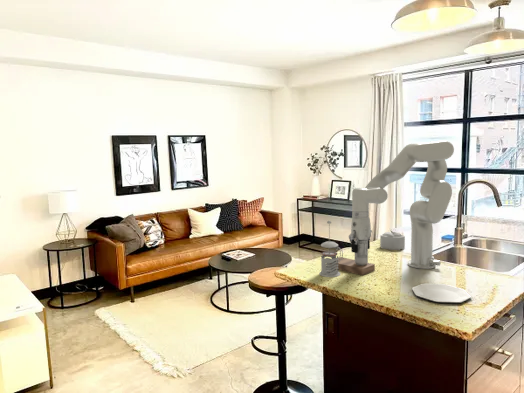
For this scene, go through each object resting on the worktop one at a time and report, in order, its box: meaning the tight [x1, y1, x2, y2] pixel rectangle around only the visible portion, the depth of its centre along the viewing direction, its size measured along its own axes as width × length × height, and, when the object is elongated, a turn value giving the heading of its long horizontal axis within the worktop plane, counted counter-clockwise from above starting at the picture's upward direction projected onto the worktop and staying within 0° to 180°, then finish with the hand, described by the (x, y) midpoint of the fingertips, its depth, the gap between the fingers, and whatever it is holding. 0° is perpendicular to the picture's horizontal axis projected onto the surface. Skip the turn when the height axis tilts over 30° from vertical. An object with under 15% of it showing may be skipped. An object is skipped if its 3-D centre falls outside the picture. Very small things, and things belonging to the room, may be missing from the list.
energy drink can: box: [354, 236, 369, 265], centre depth 182 cm, size 6×6×15 cm
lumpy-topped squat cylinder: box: [379, 231, 406, 251], centre depth 223 cm, size 10×13×9 cm
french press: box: [319, 220, 344, 278], centre depth 178 cm, size 10×12×25 cm
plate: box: [411, 282, 472, 304], centre depth 149 cm, size 20×20×2 cm
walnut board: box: [329, 256, 376, 276], centre depth 186 cm, size 20×10×3 cm, turn 42°
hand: (360, 250), depth 182 cm, fingers open, 9 cm apart
